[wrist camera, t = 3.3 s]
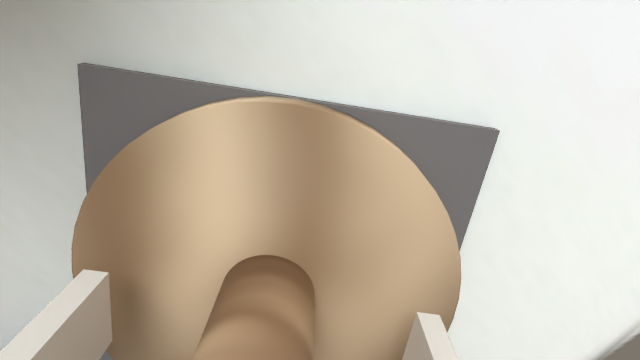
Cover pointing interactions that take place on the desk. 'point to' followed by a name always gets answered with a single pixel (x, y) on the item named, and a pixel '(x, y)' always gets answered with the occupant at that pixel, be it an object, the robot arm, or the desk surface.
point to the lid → (266, 238)
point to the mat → (182, 94)
